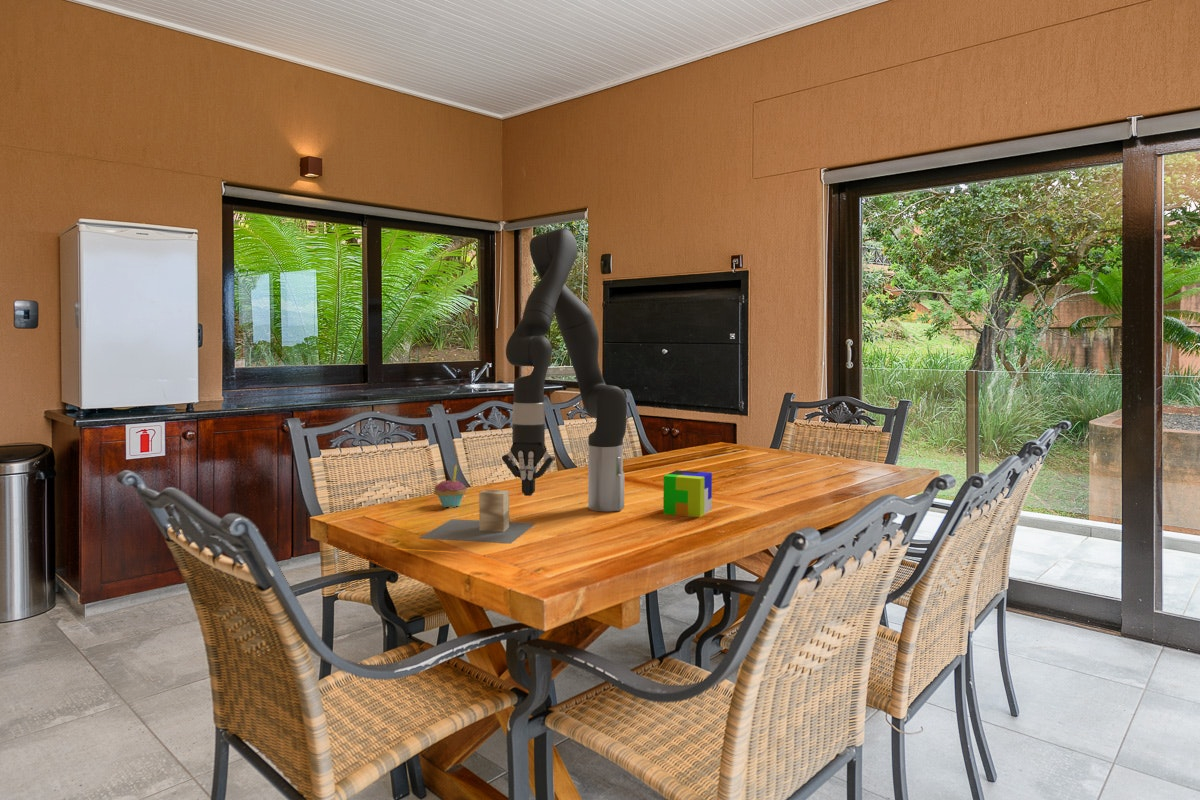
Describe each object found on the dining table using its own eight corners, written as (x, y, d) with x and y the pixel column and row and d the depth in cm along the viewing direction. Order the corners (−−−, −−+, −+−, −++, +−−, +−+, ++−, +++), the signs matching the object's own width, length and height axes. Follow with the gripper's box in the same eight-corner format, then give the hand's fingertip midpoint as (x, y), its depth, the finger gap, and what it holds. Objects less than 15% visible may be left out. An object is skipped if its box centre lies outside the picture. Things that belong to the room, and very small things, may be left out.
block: (509, 527, 184) (509, 490, 183) (503, 531, 180) (503, 493, 179) (485, 526, 185) (485, 489, 184) (479, 530, 181) (479, 492, 180)
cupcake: (472, 504, 212) (471, 461, 211) (456, 510, 204) (455, 465, 203) (444, 502, 215) (444, 459, 214) (428, 508, 207) (427, 464, 206)
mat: (535, 524, 188) (535, 523, 188) (510, 544, 169) (510, 543, 169) (451, 520, 193) (451, 519, 193) (418, 539, 174) (418, 537, 174)
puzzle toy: (711, 509, 205) (711, 472, 204) (700, 517, 196) (700, 478, 195) (676, 506, 209) (676, 470, 208) (663, 513, 200) (663, 476, 199)
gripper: (560, 421, 181) (559, 493, 182) (507, 419, 184) (507, 490, 185) (551, 424, 174) (550, 499, 175) (496, 422, 177) (496, 496, 178)
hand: (528, 495), depth 180 cm, fingers closed
